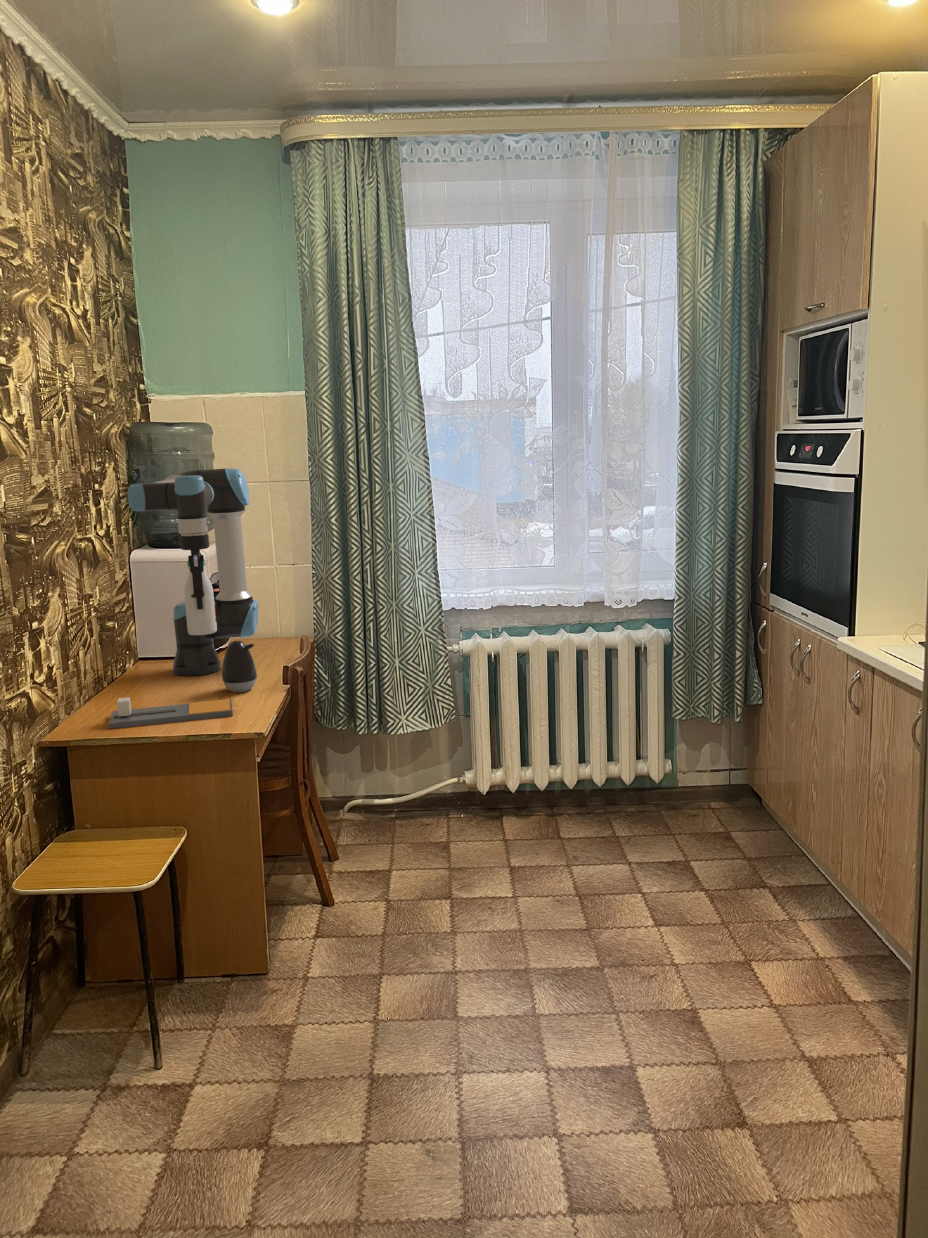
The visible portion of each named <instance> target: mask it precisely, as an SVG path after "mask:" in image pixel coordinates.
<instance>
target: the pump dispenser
mask: <svg viewBox="0 0 928 1238" xmlns="http://www.w3.org/2000/svg"><path fill="white" fill-rule="evenodd" d="M254 646H255V645H254V643H249V644H246V643H245V642H243V641H241V640H234V641H232V642H230V643H229V644H228V646H227V648H226V651H225V652H224V653H225V654H224V657H223V662H222V666H221V669H222V670H221V680H222V682H223V685H224V687H226V689H227V690H228V691H230V692H232V693H246V692H248V691H250V690H251V689H253V688H254V687H255V684H256V681H257V678H258V674H257V667H256V664H255V660H254V658H253V655H252V653H251V651H250V649H252V648H253V647H254Z"/></svg>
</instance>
